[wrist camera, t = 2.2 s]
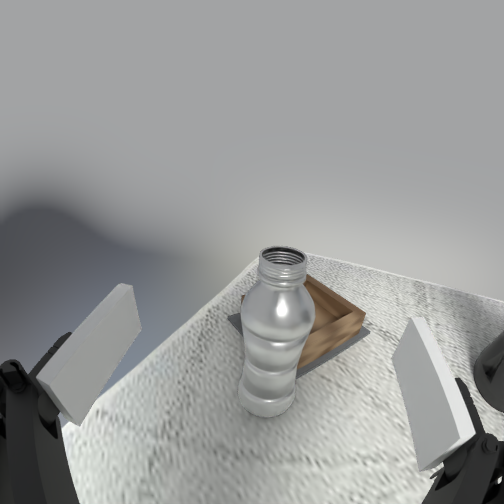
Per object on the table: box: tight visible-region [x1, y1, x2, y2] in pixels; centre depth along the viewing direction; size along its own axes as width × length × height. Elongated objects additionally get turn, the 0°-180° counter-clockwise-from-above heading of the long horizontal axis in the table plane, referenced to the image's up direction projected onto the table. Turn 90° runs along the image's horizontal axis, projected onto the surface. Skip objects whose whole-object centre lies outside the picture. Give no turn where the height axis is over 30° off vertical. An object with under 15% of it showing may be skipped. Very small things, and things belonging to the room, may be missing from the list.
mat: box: [228, 312, 371, 379], centre depth 43 cm, size 18×16×1 cm
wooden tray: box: [241, 274, 366, 369], centre depth 42 cm, size 14×14×4 cm
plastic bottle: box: [238, 246, 316, 417], centre depth 25 cm, size 6×7×20 cm
